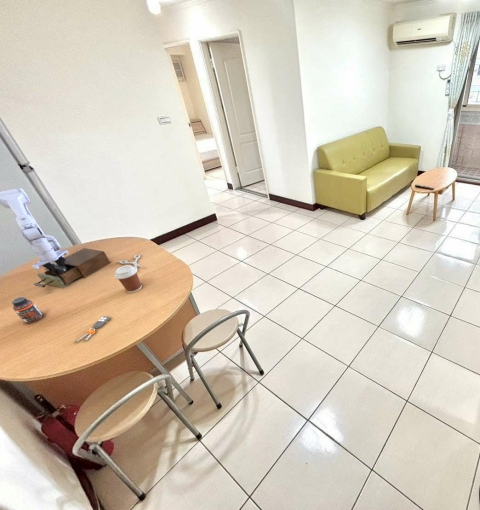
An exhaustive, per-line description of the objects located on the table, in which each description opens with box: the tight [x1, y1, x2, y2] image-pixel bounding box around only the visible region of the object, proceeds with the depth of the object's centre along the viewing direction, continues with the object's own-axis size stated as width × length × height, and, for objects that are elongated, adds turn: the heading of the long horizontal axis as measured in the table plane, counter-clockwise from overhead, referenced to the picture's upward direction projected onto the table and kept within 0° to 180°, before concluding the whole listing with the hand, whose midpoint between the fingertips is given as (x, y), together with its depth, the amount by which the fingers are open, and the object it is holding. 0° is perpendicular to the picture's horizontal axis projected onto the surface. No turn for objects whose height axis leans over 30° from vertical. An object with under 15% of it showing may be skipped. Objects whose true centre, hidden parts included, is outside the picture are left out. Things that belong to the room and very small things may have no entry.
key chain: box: [76, 315, 110, 342], centre depth 115 cm, size 13×4×2 cm, turn 174°
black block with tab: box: [51, 264, 68, 276], centre depth 140 cm, size 9×3×5 cm, turn 75°
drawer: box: [33, 265, 82, 289], centre depth 140 cm, size 18×13×6 cm
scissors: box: [117, 254, 144, 270], centre depth 155 cm, size 11×1×20 cm
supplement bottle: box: [11, 296, 44, 324], centre depth 118 cm, size 6×6×11 cm
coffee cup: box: [114, 264, 143, 293], centre depth 134 cm, size 9×9×12 cm
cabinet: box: [64, 247, 111, 279], centre depth 150 cm, size 15×15×8 cm
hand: (60, 272), depth 140 cm, fingers closed on black block with tab, 3 cm apart
